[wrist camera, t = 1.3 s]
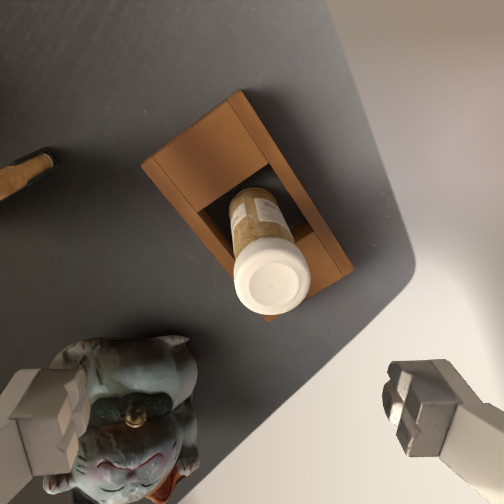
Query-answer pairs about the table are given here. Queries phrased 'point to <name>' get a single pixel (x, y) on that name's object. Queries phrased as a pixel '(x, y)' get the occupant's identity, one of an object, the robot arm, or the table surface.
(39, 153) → the ammunition clip
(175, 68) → the table surface
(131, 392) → the lucky cat figurine
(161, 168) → the oak rack
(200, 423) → the table surface
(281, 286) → the sprinkles bottle
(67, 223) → the table surface
